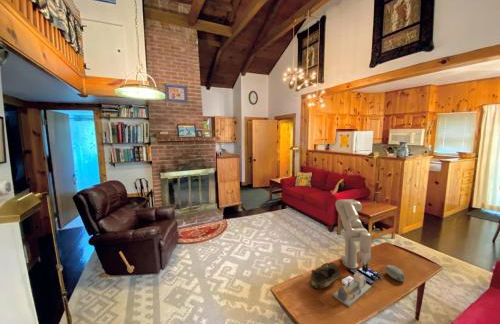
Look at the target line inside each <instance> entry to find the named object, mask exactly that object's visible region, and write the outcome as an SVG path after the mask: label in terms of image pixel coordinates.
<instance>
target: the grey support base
mask: <svg viewBox="0 0 500 324" xmlns="http://www.w3.org/2000/svg"><path fill="white" fill-rule="evenodd" d="M353 283H354V278H353V279H352V280H351V281H349V280H348V281H347V283H346V284H345V285H344V286H343V285H341V287H340V288H338V290H337V291H336V292H334V293H333V295H332V296H333V297H334V298H335V299H336V300H338V301H339V302H341V303H342V304H344V305H345V306H347V307H348V308H350V307H351V306H353V304H355V303H356V302H358V300H359V299H361V298H362V297H363V296H364V295H365V294H367V292H369V291H370V290H372V285H370V284H368V283H367V278H366V277H364V285H363V286H362V287H361V288H359V287H357V286H356V287H355V288H354V289H352V290H351V291H350V293H347V294H346V291H345V289H346V288H348V287H349V286H350V285H352V284H353Z"/></svg>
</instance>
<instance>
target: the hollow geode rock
mask: <svg viewBox="0 0 500 324" xmlns="http://www.w3.org/2000/svg"><path fill="white" fill-rule="evenodd" d="M338 269H339V266H337V265H336V263H333V262H329V263H328V262H325V263H323V264H322V265H321V266H320V267H318V268H316V269H313V270H311V277H310V279H309V282H308V283H309V286H310V287H311V288H313V289H318V290H320V289H323V288H327V287H329V286H331V284H332V283H333V282H335V281H336V280H337V279H339V278H340V276H341V273H340V271H339V270H338Z"/></svg>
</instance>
